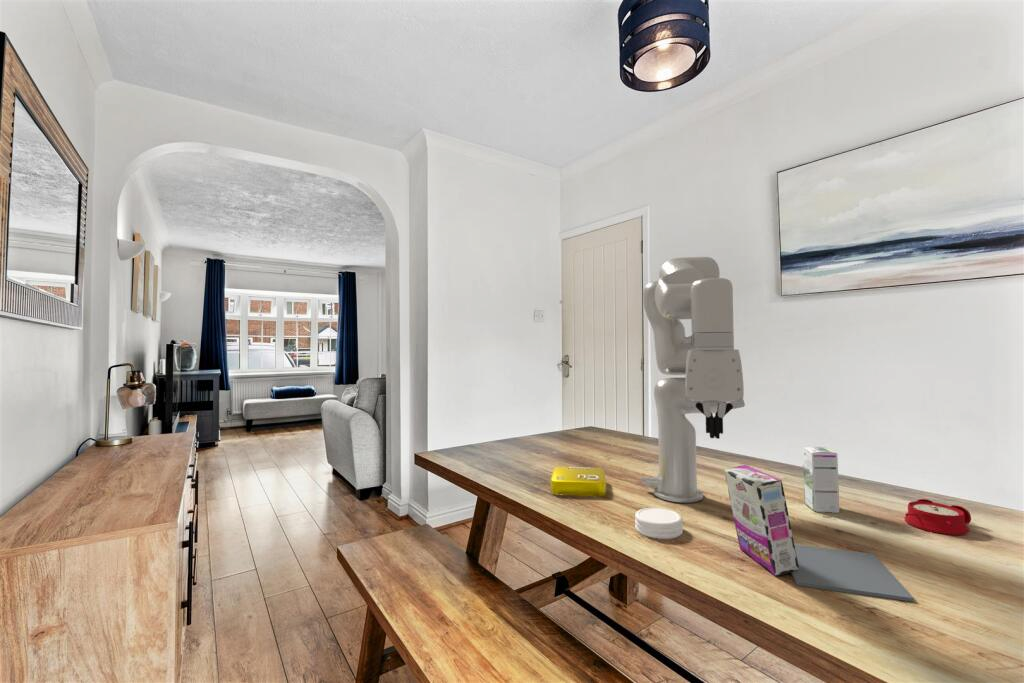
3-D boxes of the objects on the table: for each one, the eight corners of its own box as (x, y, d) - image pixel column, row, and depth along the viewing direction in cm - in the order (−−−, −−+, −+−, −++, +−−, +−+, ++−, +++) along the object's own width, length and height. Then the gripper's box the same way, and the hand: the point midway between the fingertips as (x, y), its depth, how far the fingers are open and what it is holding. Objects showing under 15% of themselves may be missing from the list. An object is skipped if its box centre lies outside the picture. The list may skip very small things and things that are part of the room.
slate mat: (796, 585, 78) (796, 581, 78) (777, 545, 93) (777, 542, 93) (913, 601, 73) (913, 598, 73) (873, 556, 88) (873, 553, 88)
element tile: (604, 481, 138) (604, 465, 138) (606, 498, 124) (605, 480, 124) (554, 480, 141) (554, 464, 141) (550, 496, 126) (549, 479, 126)
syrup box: (840, 513, 109) (839, 452, 109) (812, 512, 110) (811, 451, 111) (829, 505, 115) (828, 447, 115) (802, 503, 116) (801, 446, 116)
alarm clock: (896, 510, 102) (914, 482, 111) (899, 536, 103) (917, 506, 111) (961, 524, 93) (975, 493, 102) (963, 552, 94) (977, 519, 103)
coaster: (658, 544, 95) (658, 527, 95) (625, 527, 104) (625, 511, 104) (692, 534, 100) (692, 517, 100) (658, 518, 109) (658, 504, 109)
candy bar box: (802, 570, 81) (783, 479, 81) (775, 577, 81) (757, 486, 80) (761, 542, 92) (745, 463, 92) (738, 549, 92) (722, 468, 92)
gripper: (671, 343, 89) (673, 438, 88) (758, 341, 83) (761, 443, 83) (672, 343, 96) (673, 432, 95) (752, 342, 91) (754, 435, 90)
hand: (714, 437), depth 89 cm, fingers closed
